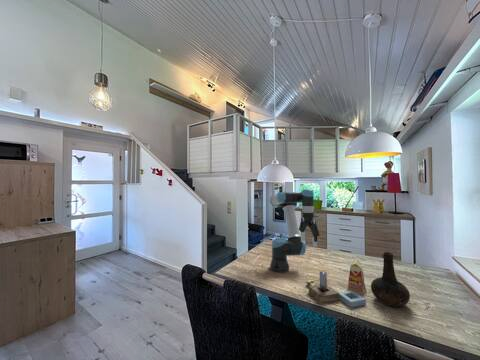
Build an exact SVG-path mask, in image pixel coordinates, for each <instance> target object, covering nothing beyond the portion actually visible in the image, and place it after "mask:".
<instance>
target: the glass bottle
mask: <svg viewBox="0 0 480 360" xmlns="http://www.w3.org/2000/svg"><path fill="white" fill-rule="evenodd" d="M381 257H382V258H383V268H382V269H383V270H382V276H381V277H377V278H375V279H373V280H372V281H371V283H370V289H371V293H372V295H373V296H374V298H376V299H377V300H378V301H379V302H380V303H382V304H384V305H386V306H389V307H393V308H399V307H401V308H402V307H404V306H406V305H407V304H408V303H409V301H410V298H411V295H410V291H409V289H408V287H406V285H405V284H403V283H402V282H401V281H398V278H397V276H396V273H395V272H396V271H395V266H394V254H393V253H391V252H388V251H385V252H384V251H383V254H382V255H381Z"/></svg>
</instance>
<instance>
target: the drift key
mask: <svg viewBox="0 0 480 360" xmlns="http://www.w3.org/2000/svg"><path fill="white" fill-rule="evenodd" d="M312 285H316V284H315V282H314V280H313V279H308V280H306V286H307V287H309V286H312Z"/></svg>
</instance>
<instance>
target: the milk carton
mask: <svg viewBox="0 0 480 360" xmlns="http://www.w3.org/2000/svg"><path fill="white" fill-rule="evenodd" d="M347 283H348V284H347V291H350V290H352V291H353V292H355V293H357V294H358V295H365V293H366V290H367V288H366V284H365V275H364V270H363V266H362V262H361V261H359V259H358V257H356V259H353V260H351V263H350V268H349V274H348V281H347Z"/></svg>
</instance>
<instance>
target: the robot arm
mask: <svg viewBox="0 0 480 360" xmlns="http://www.w3.org/2000/svg"><path fill="white" fill-rule="evenodd" d="M269 203H270V204H271V205H272V206H274V207H276V208H282V210H283V211H284V214H285V219H286V220H285V221H286V226H287V227H286V228H287V233H288V237H287V238H285V237H284V238H282V237H279V238H277V237H276V238H274V239H273V240H272V242H271V255H272V256H271V261H270V265H269V269H270V270H271V271H273V272H276V273H287V272H289V270H290V266H289V265H290V264H289V262H288V257H289V256H303V255H305V254H306V250H307V245H306V231H305V230H306V229H307V227H308V228H309V229H310V231H311V233H312V247H313V248H315V247H318V237H319V236H320V232H319V229H318V226H317V221H316V220H314V218H315V213H314V212H315V206H314V190H313V189H312V188H311V189H307V188H306V189H301V192H300V191H295V192H294V191H293V192H290V191H289V192H285V191H284V192H282V191H281V192H277V194H273V195H271V196H270V198H269ZM298 203H301V210H302V211H301V217H300V218H301V219H300V224H299V226H298V220H297V214H296V211H295V209H296V208H297V206H298Z"/></svg>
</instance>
